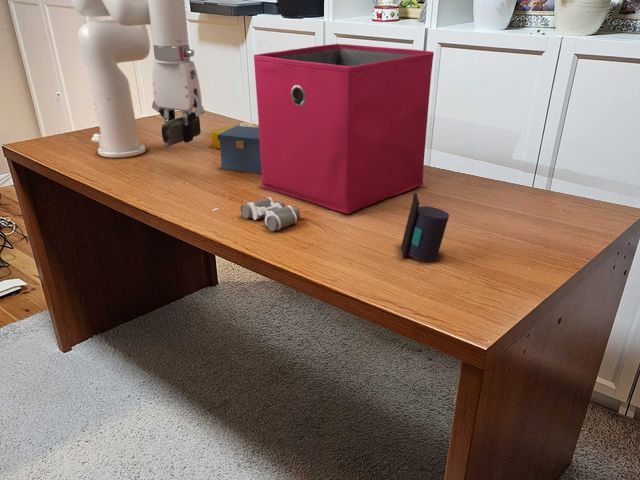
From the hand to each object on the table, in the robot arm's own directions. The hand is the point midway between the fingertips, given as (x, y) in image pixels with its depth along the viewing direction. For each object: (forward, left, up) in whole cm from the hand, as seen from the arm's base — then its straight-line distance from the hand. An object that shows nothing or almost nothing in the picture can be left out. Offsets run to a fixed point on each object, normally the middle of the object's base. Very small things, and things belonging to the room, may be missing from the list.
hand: (181, 139), depth 139 cm
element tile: (+1, +32, -9) cm, 33 cm away
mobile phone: (0, 0, 0) cm, 0 cm away
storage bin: (+38, +7, -9) cm, 39 cm away
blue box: (+11, +15, -9) cm, 20 cm away
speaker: (+64, -24, -9) cm, 69 cm away
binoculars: (+32, -18, -9) cm, 38 cm away
